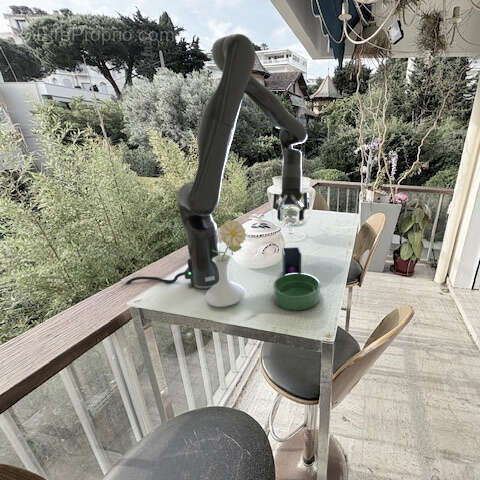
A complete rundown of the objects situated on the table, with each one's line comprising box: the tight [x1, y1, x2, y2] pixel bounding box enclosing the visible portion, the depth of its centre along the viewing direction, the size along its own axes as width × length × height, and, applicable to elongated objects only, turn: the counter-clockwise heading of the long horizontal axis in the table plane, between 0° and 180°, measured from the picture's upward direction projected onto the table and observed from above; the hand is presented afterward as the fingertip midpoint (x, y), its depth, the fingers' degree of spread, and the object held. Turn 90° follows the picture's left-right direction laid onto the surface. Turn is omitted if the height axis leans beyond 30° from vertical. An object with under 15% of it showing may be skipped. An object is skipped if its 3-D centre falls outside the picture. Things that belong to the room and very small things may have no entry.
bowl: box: [273, 272, 321, 311], centre depth 82 cm, size 14×14×5 cm
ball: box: [287, 266, 296, 274], centre depth 95 cm, size 3×3×3 cm
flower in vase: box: [204, 219, 247, 308], centre depth 77 cm, size 13×11×25 cm
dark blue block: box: [281, 246, 302, 276], centre depth 94 cm, size 6×6×10 cm
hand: (290, 220), depth 100 cm, fingers open, 8 cm apart
